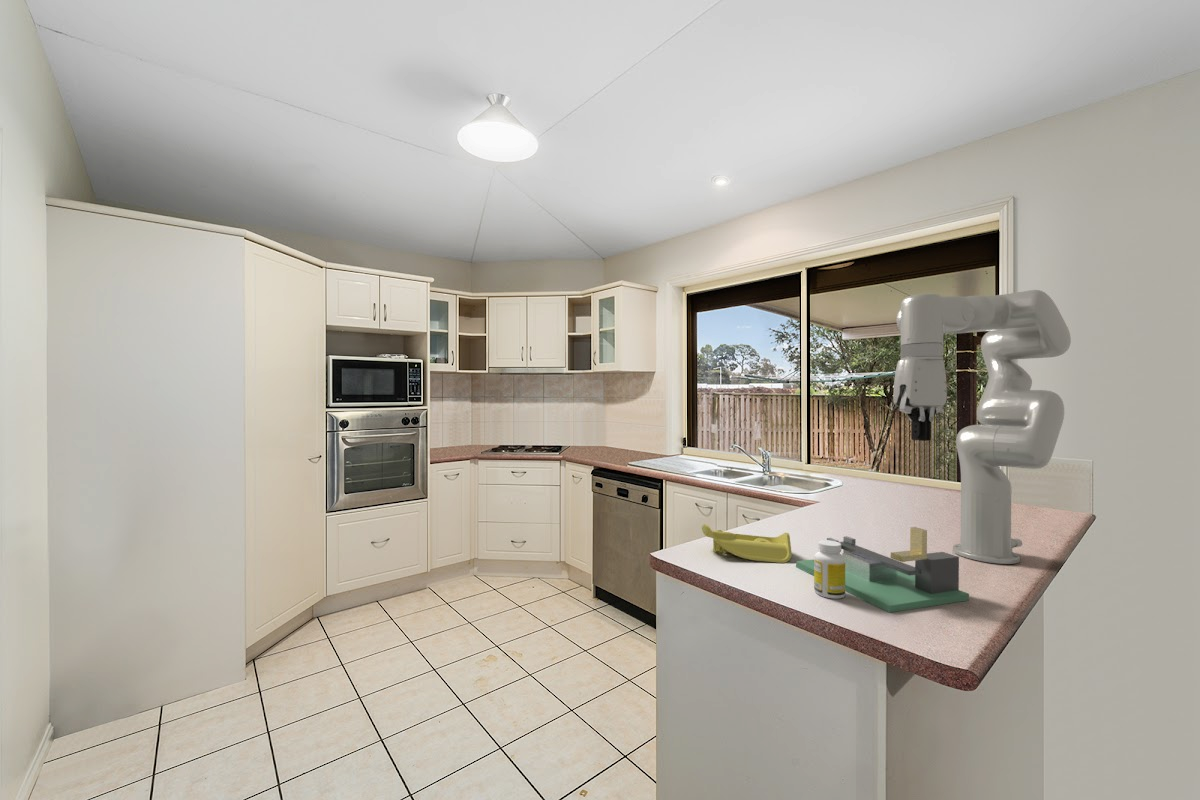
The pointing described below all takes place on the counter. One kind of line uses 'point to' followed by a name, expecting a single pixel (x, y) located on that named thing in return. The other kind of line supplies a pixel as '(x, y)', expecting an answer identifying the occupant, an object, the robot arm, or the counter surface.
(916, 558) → the bracket
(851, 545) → the dark grey flat bar
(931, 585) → the block
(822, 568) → the supplement bottle
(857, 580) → the board
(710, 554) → the counter surface
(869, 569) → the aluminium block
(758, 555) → the plastic component
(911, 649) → the counter surface
